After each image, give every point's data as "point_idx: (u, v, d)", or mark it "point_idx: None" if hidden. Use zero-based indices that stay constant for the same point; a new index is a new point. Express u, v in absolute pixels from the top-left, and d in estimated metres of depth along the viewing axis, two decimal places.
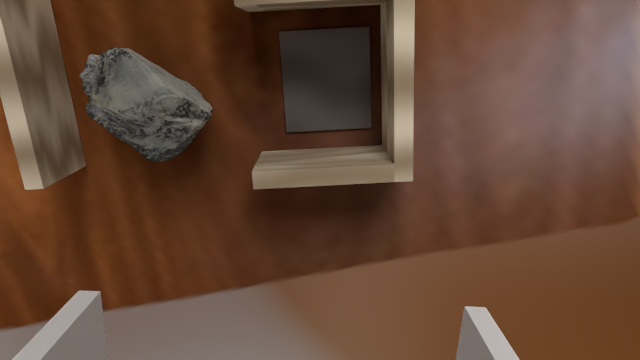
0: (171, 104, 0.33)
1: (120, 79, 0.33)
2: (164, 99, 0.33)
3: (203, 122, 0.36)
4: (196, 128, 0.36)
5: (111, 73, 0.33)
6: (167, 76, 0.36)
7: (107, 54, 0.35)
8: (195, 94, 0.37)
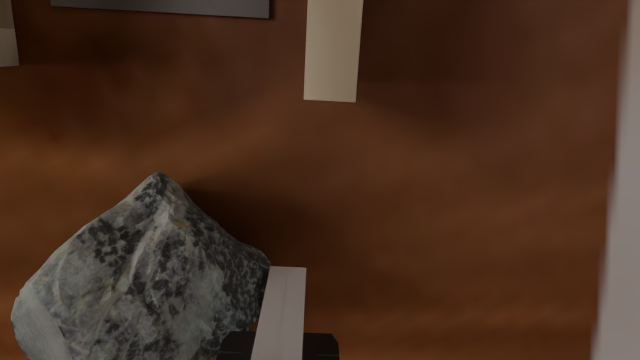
0: (83, 272, 0.13)
1: None
2: (65, 286, 0.13)
3: (168, 198, 0.15)
4: (177, 217, 0.15)
5: None
6: None
7: None
8: None
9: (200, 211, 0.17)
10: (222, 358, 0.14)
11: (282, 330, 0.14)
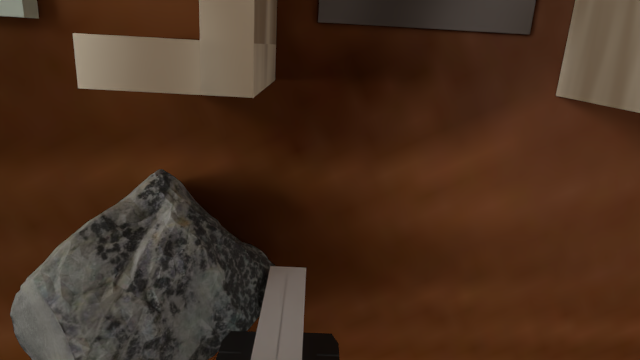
0: (86, 269, 0.13)
1: (42, 355, 0.15)
2: (67, 282, 0.13)
3: (171, 197, 0.15)
4: (180, 216, 0.15)
5: None
6: None
7: None
8: None
9: (202, 210, 0.17)
10: (222, 358, 0.14)
11: (282, 330, 0.14)
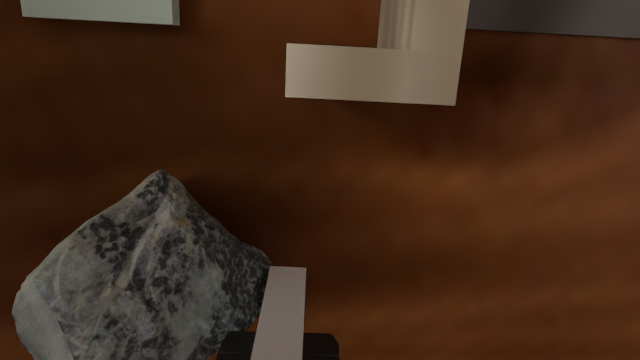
0: (84, 268, 0.13)
1: (43, 354, 0.15)
2: (66, 281, 0.13)
3: (170, 196, 0.15)
4: (178, 215, 0.15)
5: None
6: None
7: None
8: None
9: (201, 209, 0.17)
10: (222, 358, 0.14)
11: (282, 330, 0.14)
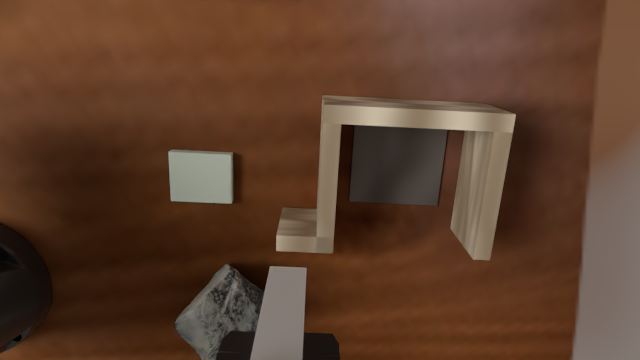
0: (210, 307, 0.40)
1: (190, 336, 0.41)
2: (205, 311, 0.39)
3: (236, 278, 0.41)
4: (239, 286, 0.41)
5: (187, 340, 0.42)
6: (200, 294, 0.44)
7: None
8: (218, 275, 0.43)
9: (245, 280, 0.43)
10: (222, 358, 0.14)
11: (281, 330, 0.14)
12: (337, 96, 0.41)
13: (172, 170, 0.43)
